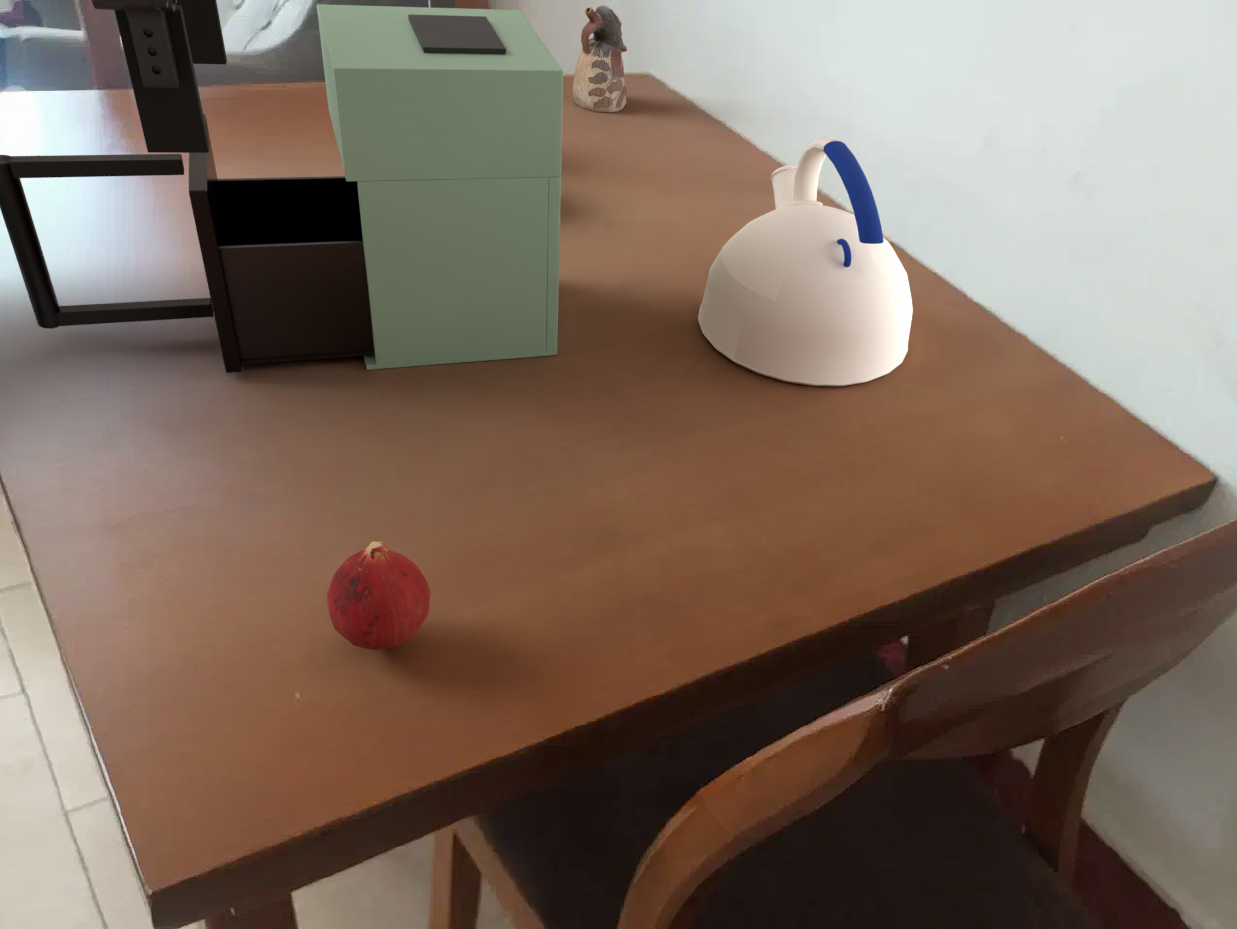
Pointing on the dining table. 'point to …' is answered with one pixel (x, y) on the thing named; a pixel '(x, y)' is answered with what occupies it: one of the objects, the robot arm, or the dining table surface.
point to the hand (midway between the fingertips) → (191, 103)
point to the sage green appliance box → (450, 177)
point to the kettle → (811, 283)
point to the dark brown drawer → (228, 257)
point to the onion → (378, 598)
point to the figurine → (601, 63)
